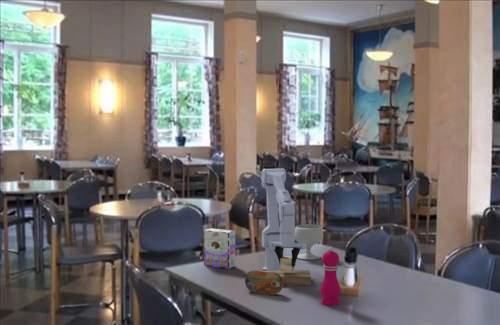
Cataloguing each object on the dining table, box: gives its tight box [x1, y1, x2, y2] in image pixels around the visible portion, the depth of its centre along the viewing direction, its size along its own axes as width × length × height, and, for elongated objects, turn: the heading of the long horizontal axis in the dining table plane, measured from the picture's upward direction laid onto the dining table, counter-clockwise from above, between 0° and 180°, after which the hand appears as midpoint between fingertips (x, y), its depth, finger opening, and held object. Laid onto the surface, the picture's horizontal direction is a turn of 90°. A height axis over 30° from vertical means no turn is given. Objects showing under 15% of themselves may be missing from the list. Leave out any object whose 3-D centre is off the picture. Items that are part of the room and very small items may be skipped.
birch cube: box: [280, 255, 295, 272], centre depth 227 cm, size 4×4×5 cm
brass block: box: [264, 269, 312, 287], centre depth 227 cm, size 10×18×4 cm, turn 88°
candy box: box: [203, 227, 237, 270], centre depth 253 cm, size 14×6×16 cm, turn 58°
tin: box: [244, 269, 284, 296], centre depth 213 cm, size 15×3×8 cm, turn 62°
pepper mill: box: [319, 246, 342, 307], centre depth 200 cm, size 7×7×20 cm
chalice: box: [295, 223, 324, 261], centre depth 270 cm, size 14×14×15 cm
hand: (287, 265), depth 227 cm, fingers closed on birch cube, 4 cm apart
